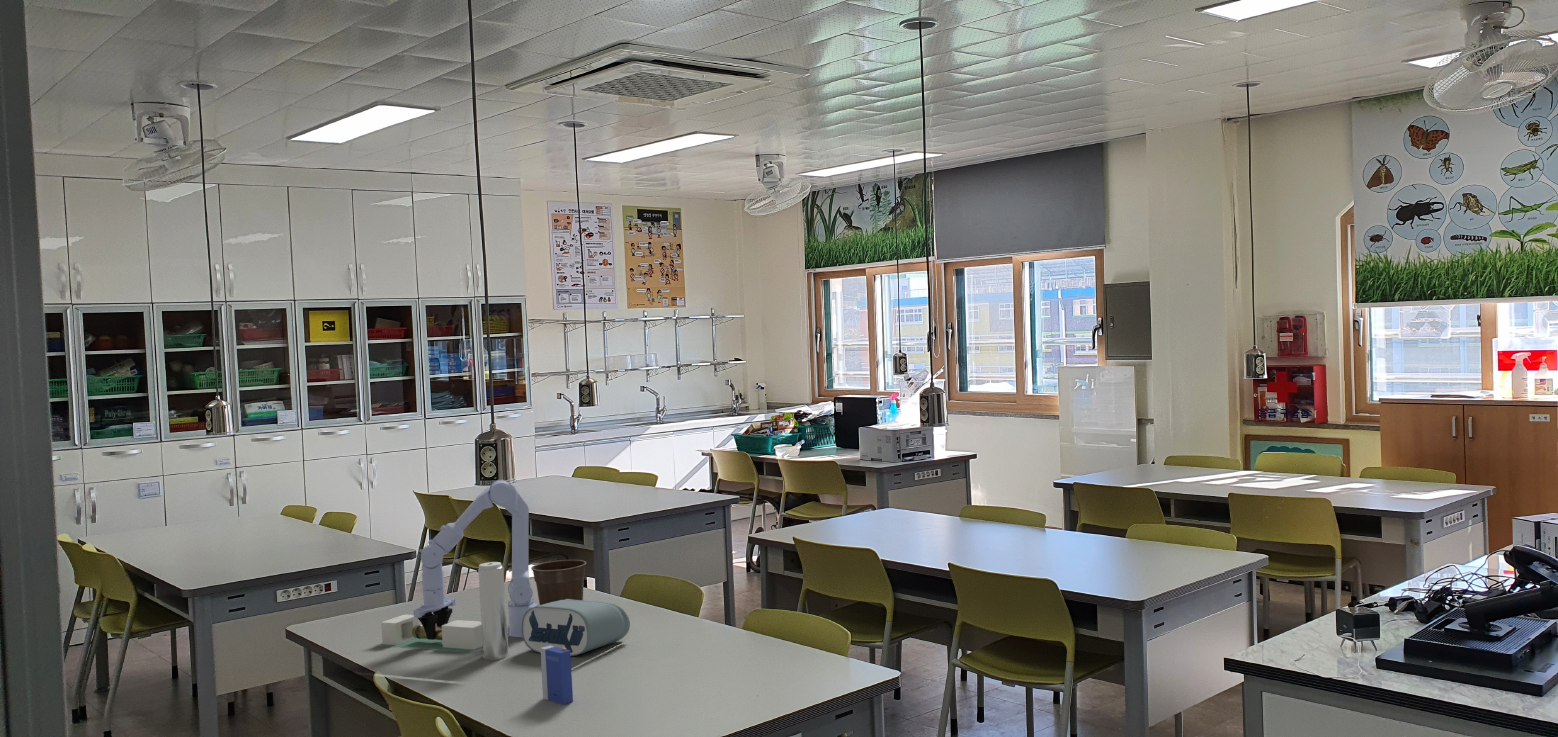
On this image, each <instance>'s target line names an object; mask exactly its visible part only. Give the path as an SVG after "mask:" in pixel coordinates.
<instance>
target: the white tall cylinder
mask: <svg viewBox="0 0 1558 737" xmlns="http://www.w3.org/2000/svg"><path fill="white" fill-rule="evenodd" d="M477 573H478V584H479V586H478V587H479V599H480V600H479V603H480V619H481V620H480V622H481V623H482V640H483V647H482V654H483V656H482V657H483V659H484V660H487V661H493V660H494V661H496V660H501V659H505V658H507V657H509V655H510V654H509V642H508V640H509V639H508V637H509V636H507V633H508V626H507V625H508V623H507V622H508V620H507V605H506V604H507V603H506V588H505V570H504V565H502V562H498V561H491V562H490V561H488V562H484V563H480V564H478V572H477Z"/></svg>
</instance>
